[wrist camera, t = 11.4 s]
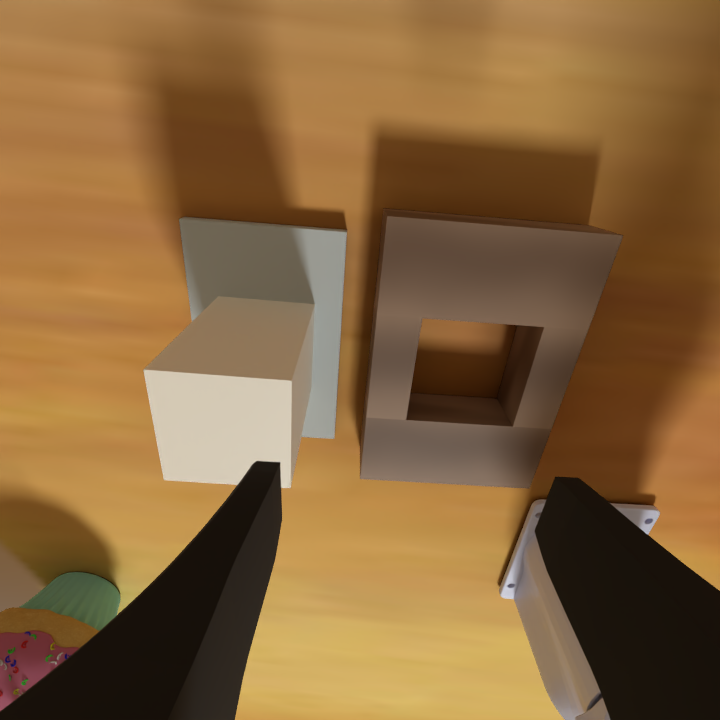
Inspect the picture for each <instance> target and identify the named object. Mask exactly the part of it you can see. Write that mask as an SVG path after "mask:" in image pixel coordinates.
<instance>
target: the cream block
mask: <svg viewBox="0 0 720 720" xmlns="http://www.w3.org/2000/svg"><path fill="white" fill-rule="evenodd" d="M314 314H315V304H307V303H295V302H283V301H271V300H259V299H247V298H235V297H223V296H218V297H217V298H216V299H215V300H214V301H213V302H212V303H211V304H210V305H209V306H208V307H207V308H206V309H205V310H204V311H203V312H202V313H201V314H200V315H199V316H197V317H196V318H195V319H194V320H193V321H192V322H191V323H190V324H189V325H188V326H187V327H186V328H185V329H184V330H183V331H182V332H181V333H180V334H179V335H178V336H177V337H176V338H175V339H174V340H173V341H172V342H171V343H170V344H169V345H168V346H167V347H166V348H165V349H164V350H163V351H162V352H161V353H160V354H159V355H158V356H157V357H156V358H155V359H154V360H153V361H152V362H151V363H150V364H149V365H148V366H147V367H146V368H145V369H144V375H145V381H146V386H147V391H148V397H149V402H150V408H151V413H152V418H153V424H154V429H155V435H156V440H157V445H158V451H159V456H160V462H161V467H162V472H163V478H164V480H171V481H186V482H202V483H218V484H234V485H238V484H239V482H240V481H241V480H242V478H243V477H244V475H245V474H246V473H247V471H248V470H249V468H250V467H251V465H252V464H253V463H254V462H256V461H268V462H280V470H281V488H291V484H292V479H293V474H294V469H295V465H296V460H297V455H298V450H299V445H300V440H301V436H302V431H303V426H304V421H305V416H306V411H307V407H308V402H309V397H310V392H311V387H312V367H313V340H314Z"/></svg>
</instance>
